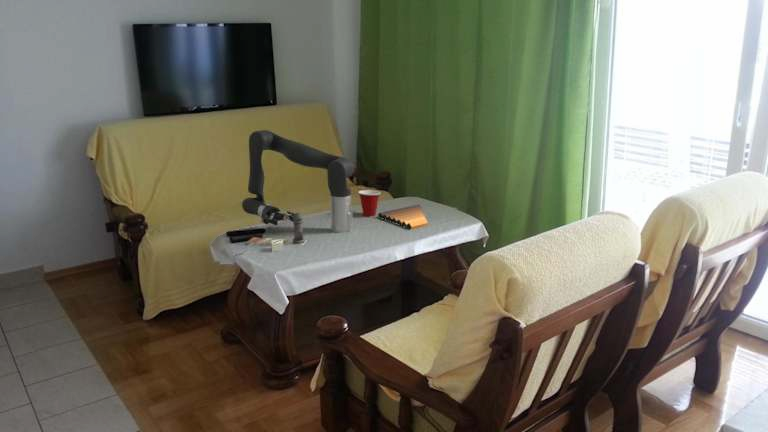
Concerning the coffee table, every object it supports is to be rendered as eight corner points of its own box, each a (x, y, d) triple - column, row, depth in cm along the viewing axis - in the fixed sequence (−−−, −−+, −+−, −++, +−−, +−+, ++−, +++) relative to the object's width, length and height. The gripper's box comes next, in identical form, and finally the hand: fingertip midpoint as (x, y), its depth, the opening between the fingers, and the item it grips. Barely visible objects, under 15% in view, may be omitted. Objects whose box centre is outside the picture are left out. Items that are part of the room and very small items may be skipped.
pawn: (306, 240, 262) (305, 211, 258) (302, 244, 257) (301, 214, 253) (294, 239, 262) (293, 211, 259) (291, 243, 258) (290, 214, 254)
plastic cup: (384, 214, 304) (384, 190, 300) (372, 219, 295) (372, 195, 292) (366, 210, 309) (366, 187, 306) (354, 216, 301) (354, 192, 297)
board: (310, 242, 263) (310, 239, 263) (305, 248, 255) (305, 245, 255) (252, 239, 267) (252, 236, 266) (245, 245, 259) (245, 242, 259)
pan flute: (416, 209, 313) (378, 218, 298) (416, 203, 312) (378, 211, 297) (451, 221, 294) (411, 231, 280) (451, 214, 293) (411, 223, 279)
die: (283, 249, 254) (282, 239, 252) (283, 253, 250) (283, 242, 248) (272, 250, 253) (271, 240, 252) (272, 254, 249) (271, 243, 247)
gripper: (254, 207, 274) (270, 215, 261) (282, 202, 282) (300, 210, 269) (255, 223, 276) (271, 232, 263) (283, 218, 284) (300, 226, 271)
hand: (285, 221), depth 266 cm, fingers open, 8 cm apart
